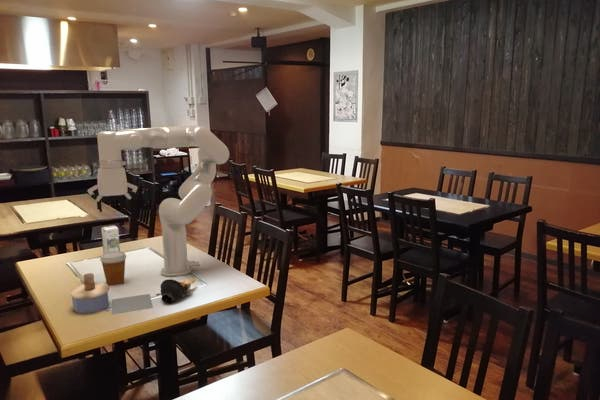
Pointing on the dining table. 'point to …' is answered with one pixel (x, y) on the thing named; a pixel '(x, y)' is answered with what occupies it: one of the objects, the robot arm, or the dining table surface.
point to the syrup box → (110, 239)
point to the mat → (131, 303)
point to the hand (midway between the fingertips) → (114, 210)
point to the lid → (89, 288)
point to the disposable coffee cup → (114, 267)
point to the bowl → (90, 304)
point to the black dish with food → (174, 289)
